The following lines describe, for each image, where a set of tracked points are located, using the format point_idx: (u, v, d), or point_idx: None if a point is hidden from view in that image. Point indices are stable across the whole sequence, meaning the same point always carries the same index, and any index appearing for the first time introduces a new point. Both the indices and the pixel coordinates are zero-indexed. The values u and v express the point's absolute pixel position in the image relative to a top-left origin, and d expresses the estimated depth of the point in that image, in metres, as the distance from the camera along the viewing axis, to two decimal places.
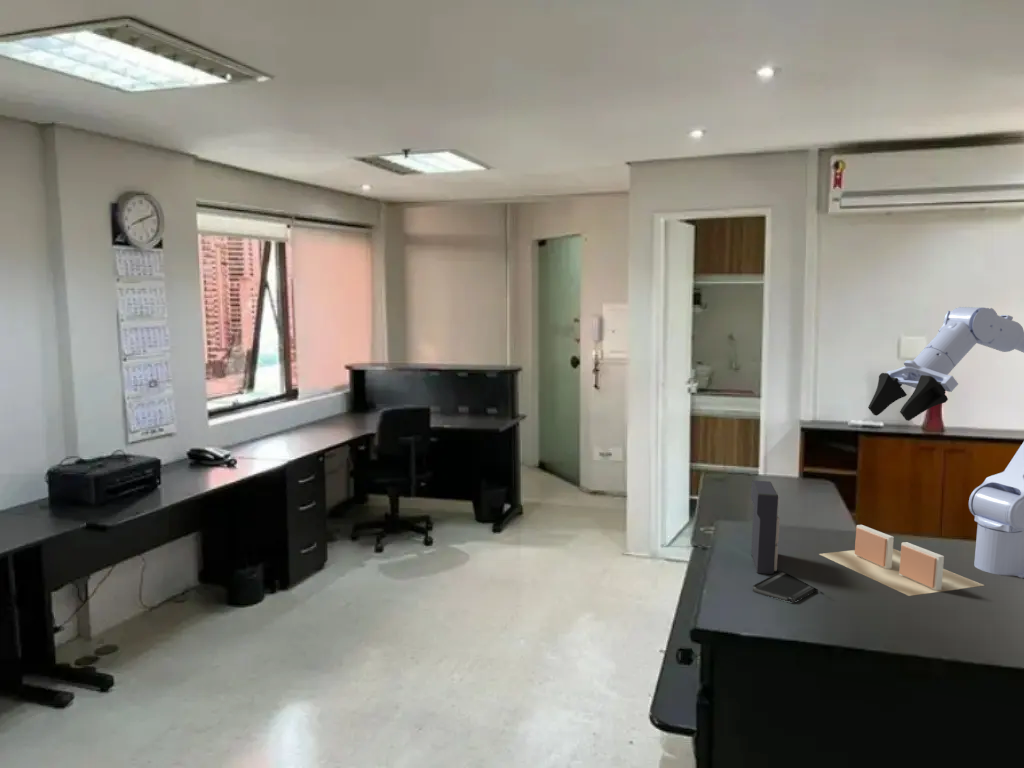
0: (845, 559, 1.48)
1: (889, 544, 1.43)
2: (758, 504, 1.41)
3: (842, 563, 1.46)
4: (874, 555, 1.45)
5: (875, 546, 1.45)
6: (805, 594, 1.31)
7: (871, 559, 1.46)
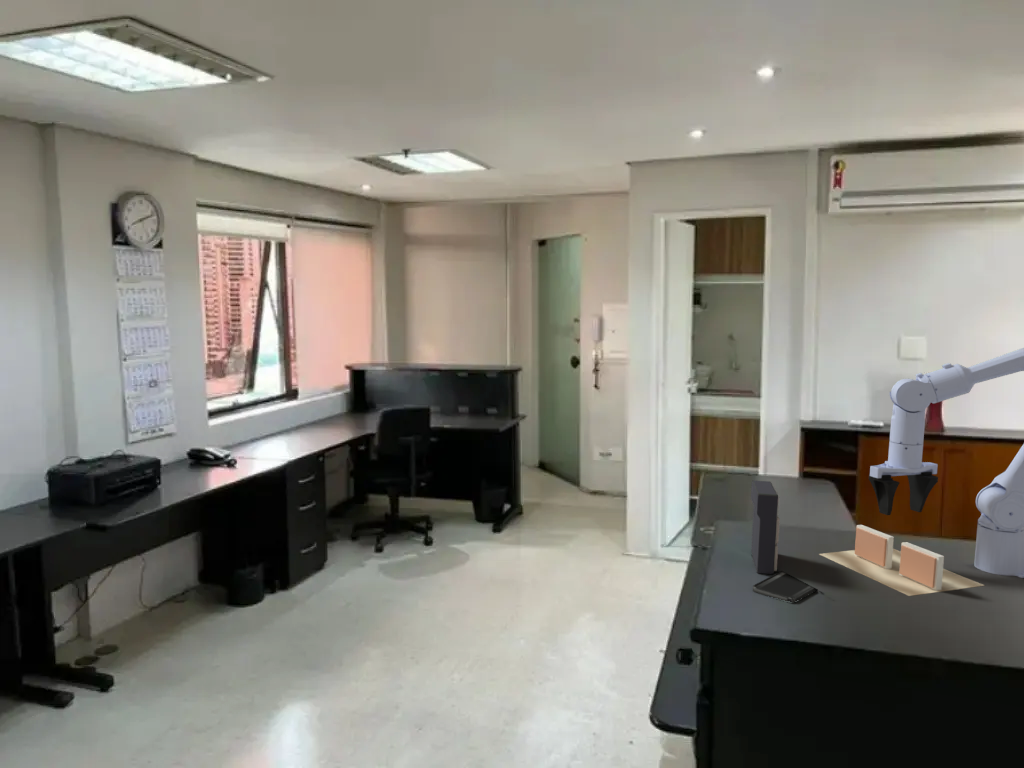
0: (845, 559, 1.48)
1: (889, 544, 1.43)
2: (758, 504, 1.41)
3: (842, 563, 1.46)
4: (874, 555, 1.45)
5: (875, 546, 1.45)
6: (805, 594, 1.31)
7: (871, 559, 1.46)
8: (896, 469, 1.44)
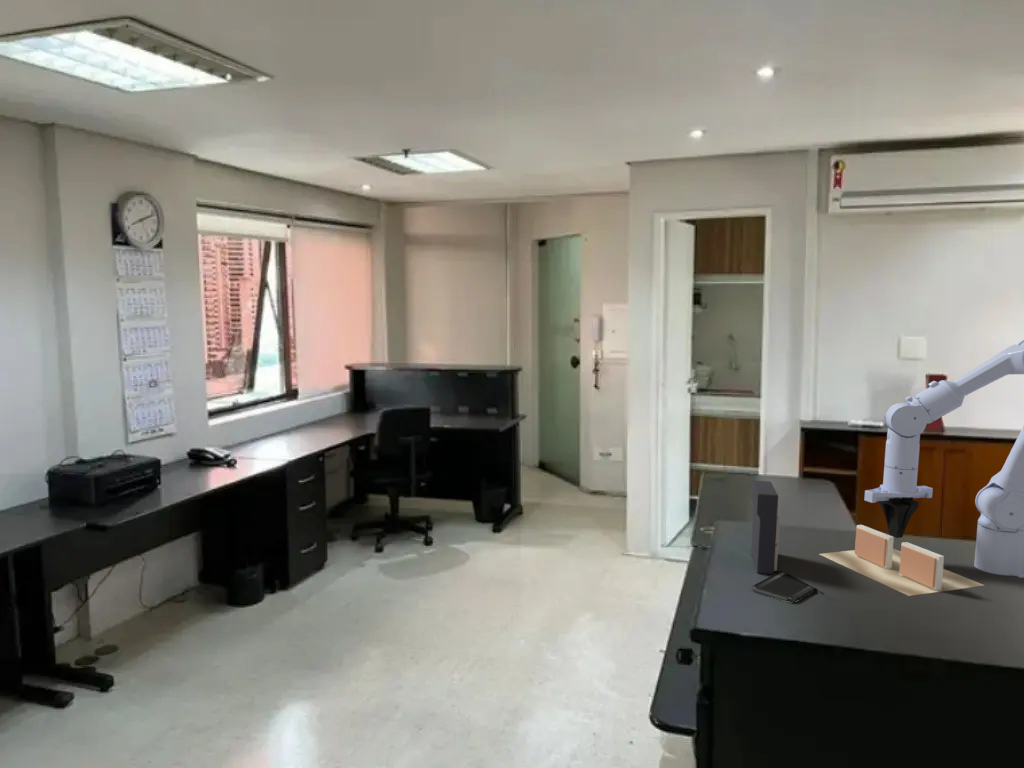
0: (845, 559, 1.48)
1: (889, 544, 1.43)
2: (758, 504, 1.41)
3: (842, 563, 1.46)
4: (874, 555, 1.45)
5: (875, 546, 1.45)
6: (805, 594, 1.31)
7: (871, 559, 1.46)
8: (891, 494, 1.44)
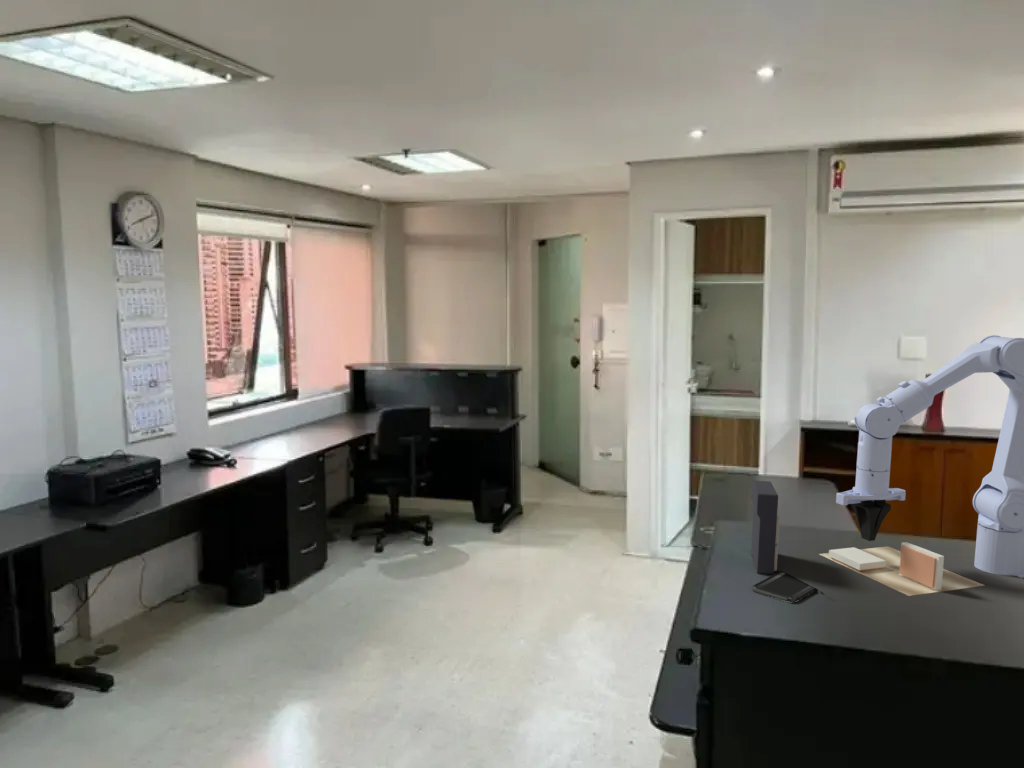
0: None
1: (865, 567, 1.42)
2: (758, 504, 1.41)
3: None
4: None
5: None
6: (805, 594, 1.31)
7: None
8: (862, 496, 1.42)
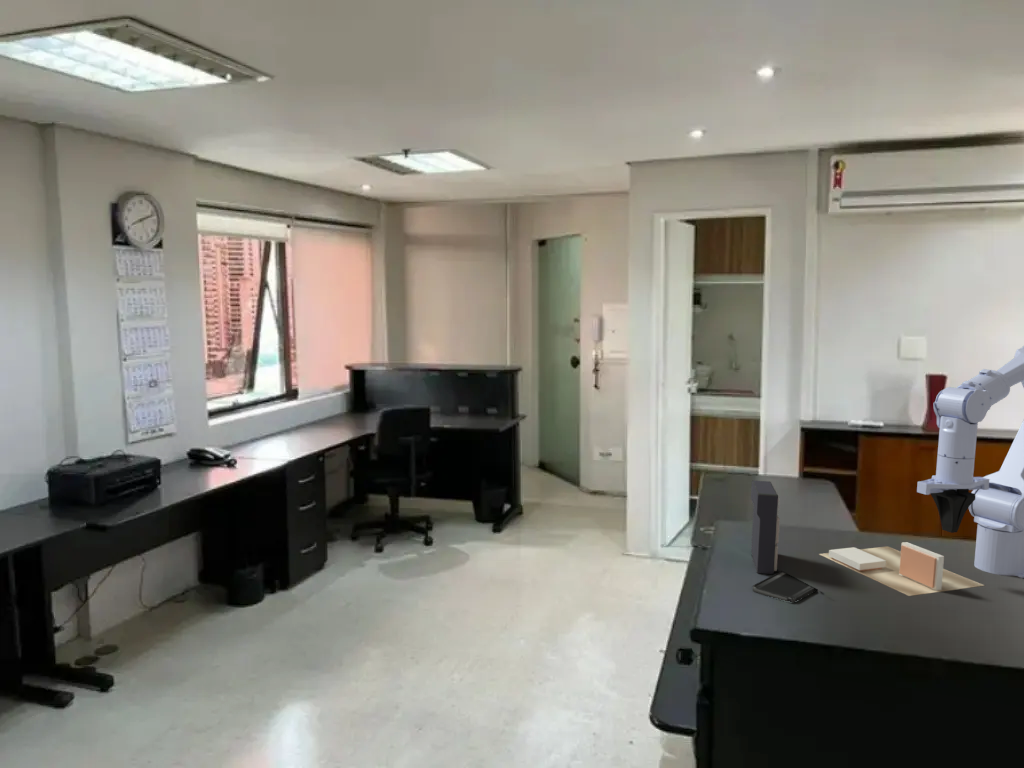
0: None
1: (865, 567, 1.42)
2: (758, 504, 1.41)
3: None
4: None
5: None
6: (805, 594, 1.31)
7: None
8: (946, 485, 1.34)
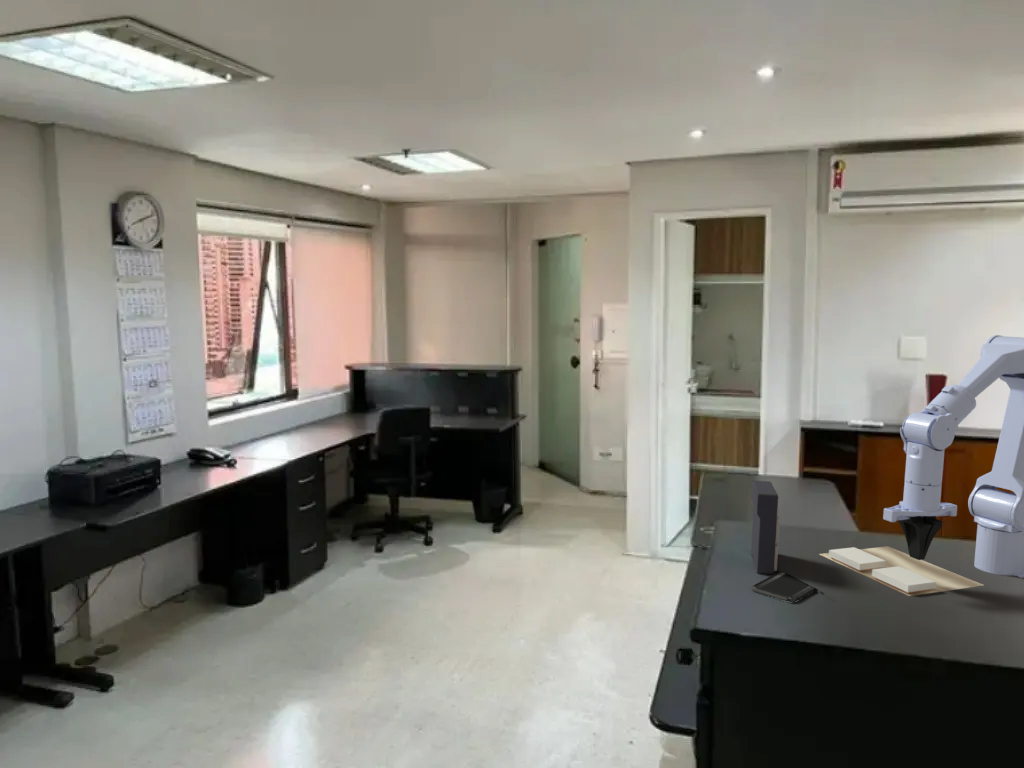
0: None
1: (865, 567, 1.42)
2: (758, 504, 1.41)
3: None
4: None
5: None
6: (805, 594, 1.31)
7: None
8: (912, 512, 1.32)
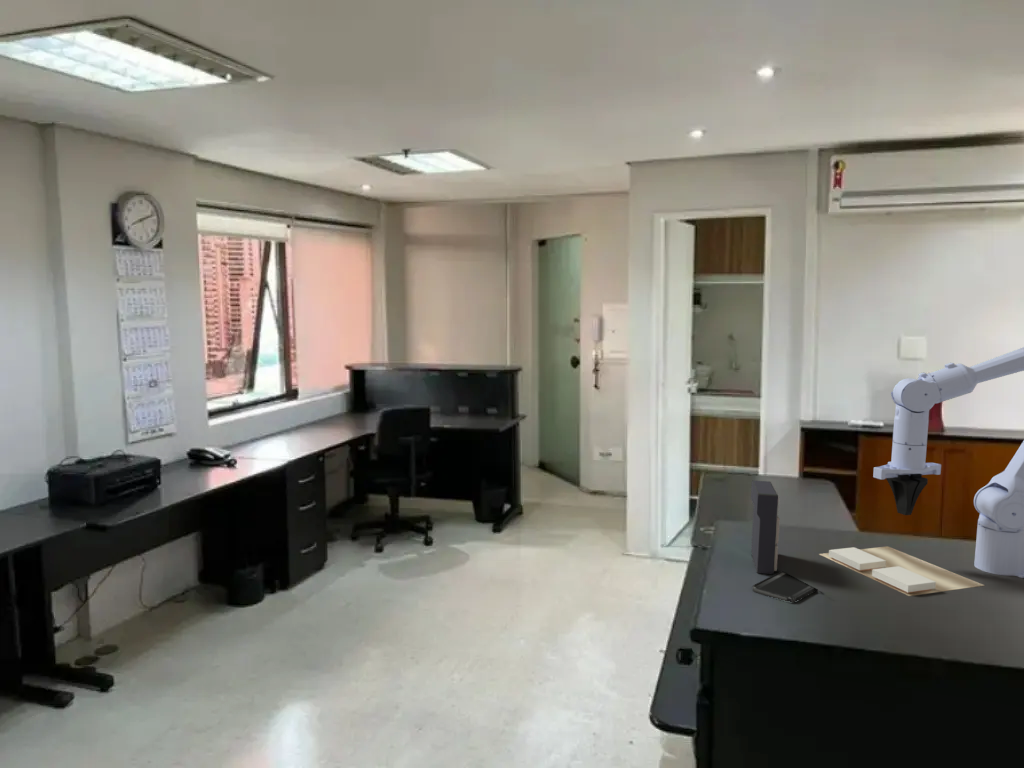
0: None
1: (865, 567, 1.42)
2: (758, 504, 1.41)
3: None
4: None
5: None
6: (805, 594, 1.31)
7: None
8: (900, 470, 1.42)
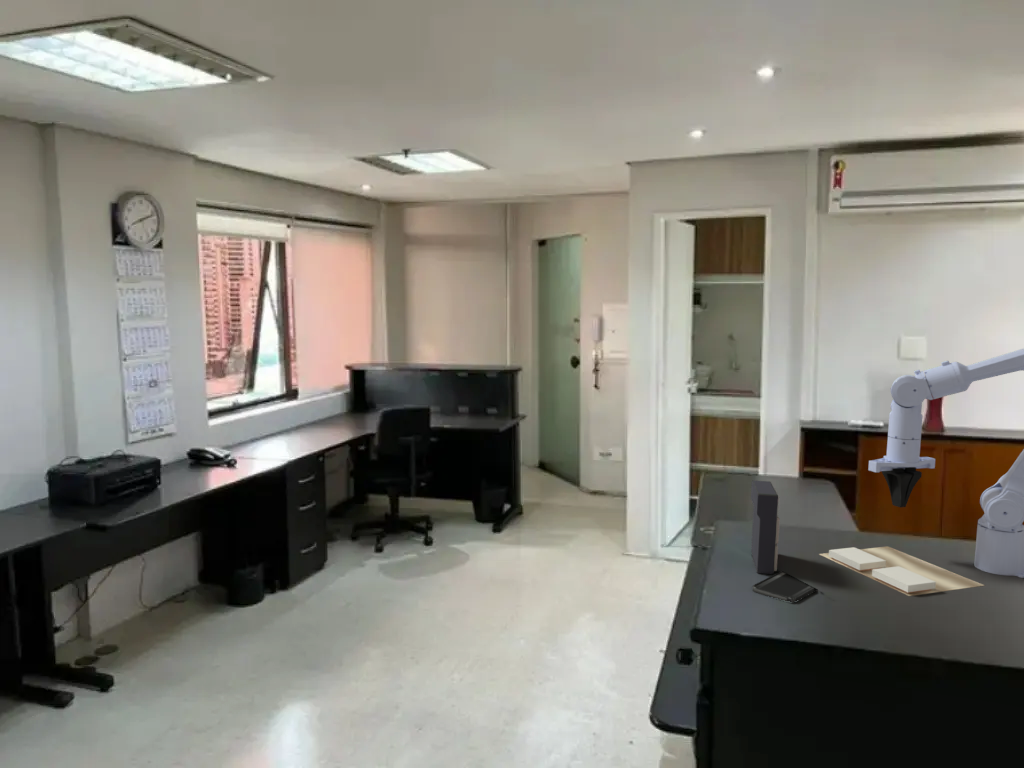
0: None
1: (865, 567, 1.42)
2: (758, 504, 1.41)
3: None
4: None
5: None
6: (805, 594, 1.31)
7: None
8: (894, 463, 1.47)
